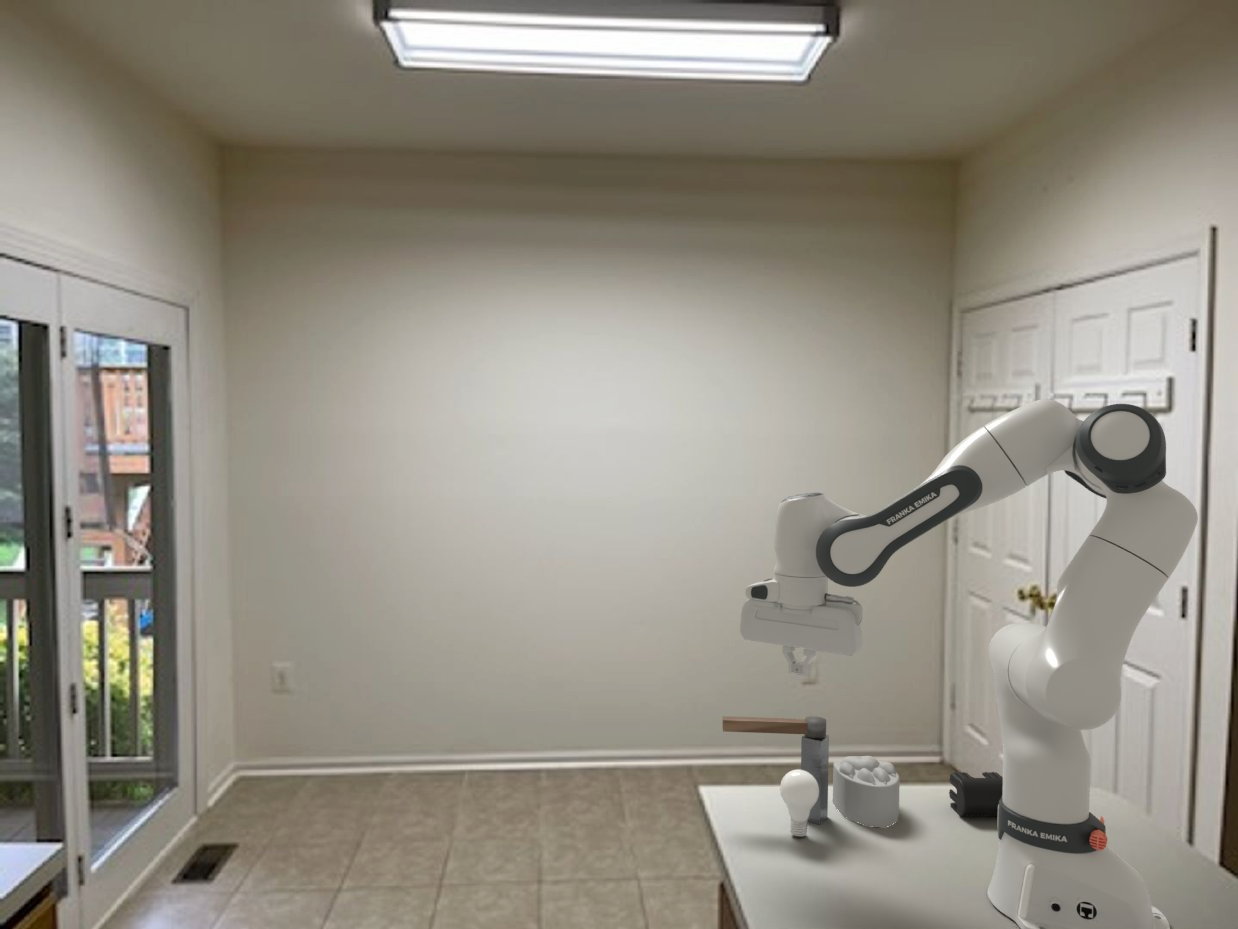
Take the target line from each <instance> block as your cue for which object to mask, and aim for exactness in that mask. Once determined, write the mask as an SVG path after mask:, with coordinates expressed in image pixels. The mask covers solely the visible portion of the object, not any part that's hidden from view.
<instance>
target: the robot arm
mask: <svg viewBox="0 0 1238 929" xmlns="http://www.w3.org/2000/svg"><path fill="white" fill-rule="evenodd" d="M1166 441H1167V440H1166V435H1165V432H1164V429H1163V427H1162V425H1161V423H1160V422H1159V421H1158V419H1157V418H1156V417H1155V416H1154V415H1153V414H1152V413H1151V412H1149V411H1148V410H1146V409H1144V408H1142V407H1140V406H1138V405H1134V404H1130V403H1114V404H1110V405H1105V406H1102V407H1100V408H1098V409H1096V410H1094V411H1093V412H1092V413H1090V414H1089V415H1088V416H1087V417H1086V418H1085V419H1084V420H1081V419H1079V418H1078V417H1076V416H1075V413H1073V412H1072V411H1071V410H1070V409H1069V408H1068V407H1067V406H1065V405H1064V404H1062V403H1061V402H1058V401H1056V400H1053V399H1048V398H1041V399H1038V400H1035V401H1032V402H1029V403H1027V404H1024V405H1022V406H1020V407H1018V408H1015V409H1012V410H1010V411H1009V412H1007V413H1004V414H1001V415H1000V416H998V417H997V418H995V419H993V420H991V421H990V422H988V423H985V425H983V426H981V427H980V428H978V429H977V430H975V431H973V432H972V433H971V434H969V435H968V436H967V437H965V438H964V439H963V440H961V441H960V442H959V443H958V444H957V445H956V446H954V447H953V448H952V449H951V450H950V451H949V452H948V453H947V454H946V455H945V456H944V457H943V458H942V460H941V462H940V463H939V464H938V465H937V467H935V470H933V472H932V473H931V474H930V475H929V476H928V477H927V478H926V479H925V480H924V481H923V482H921V483H920V484H919V485H918V486H916V487H915V488H913V489H912V490H910V491H909V492H906V493H905V494H904V495H901V497H899V498H897V499H895V500H894V501H892V502H891V503H889V504H888V505H886V506H884V507H883V508H881V509H880V510H877V511H876V512H874V513H872V514H870V515H865V514H862V513H859V512H856V511H853V510H850V509H848V508H846V507H844V506H841V505H840V504H839V503H836V502H834V501H833V500H831V499H830V498H829V497H828V496H826V494H824V493H821V492H807V493H800V494H795V495H791V496H788V497H785V499H783V500H782V501H781V502H780V503H779V505H778V507H777V510H776V515H775V521H774V533H773V534H774V537H773V541H774V542H773V547H774V548H773V549H774V552H775V558H776V560H775V565H774V567H773V578H767V579H765V580H762V581H758V582H755V583H752V584H749V585H747V586H746V587H745V590H744V591H745V592H744V593H745V594H744V595H745V597H746V600H745V601H744V603H743V605H742V608H741V614H740V624H739V626H740V627H739V628H740V630H739V632H740V635H741V636H742V638H743V639H744V640H746V641H750V642H757V643H764V644H770V645H775V646H776V645H777V646H782V655H784V658H785V660H786V662H787V663H788V673H789V674H794V675H799V676H804V677H806V676H809V674H810V664H811V663H812V661H813V660H814V658H815V656H816V655H817V652H822V653H828V654H835V655H842V656H846V657H853V656H855V655H858V653H859V652H860V651H861V650H862V649H863V635H862V634H863V632H862V624H861V623H862V622H863V606H862V605H861V603H860V601H858V600H856V599H855V598H854V597H852V596H848V595H846V596H842V595H838V594H831V593H829V580H830V581H831V582H833V583H835V584H837V585H840V586H843V587H847V588H849V587H850V588H855V587H856V588H857V587H861V586H864V585H866V584H868V583H870V582H871V581H873V580H874V579H876V577H878V575H879V574H881V572H882V570H883V569H884V567H885V566H886V564H887V563H888V562H889V560H890V558H891V557H892V556H893V555H894V554H895V553H896V552H898V550H901V548H903V547H905V546H907V545H908V544H909V543H912V542H913V541H915V540H916V539H917V538H919V537H921V536H923V535H924V534H926V533H928V532H929V531H931V530H933V529H934V528H936V527H937V526H939V525H941V524H942V523H944V522H945V521H946V522H947V521H948V520H950V519H952V518H955V517H957V516H959V515H962V514H965V513H968V512H971V511H974V510H977V509H980V508H982V507H985V506H989V505H991V504H994V503H996V502H997V503H998V502H999V501H1002V500H1004V499H1006V498H1008V497H1011V496H1012V495H1015V494H1016V493H1018V492H1020V491H1022V490H1023V489H1025V488H1026V487H1029V486H1030V485H1031V484H1033V483H1035V482H1037V481H1038V480H1040V479H1042V478H1044V477H1046V476H1048V475H1050V474H1052V473H1056V472H1059V471H1064V473H1065V474H1066V475H1067V476H1068V477H1069V478H1071V479H1072V480H1074V481H1075V482H1077V483H1078V484H1080V485H1082V486H1083V487H1084V488H1085V489H1087V490H1088V491H1089V492H1091V493H1093V494H1095V495H1096V496H1098V497H1100V498H1103V499H1106V505H1105V509H1104V511H1103V513H1102V515H1101V516H1100V518H1099V520H1098V522H1097V523H1096V525H1095V526H1094V527H1093V529H1092V530H1091V531H1090V533H1089V534H1088V536H1087V538H1086V539H1085V540H1084V541H1083V543H1082V544H1081V546H1080V547H1079V549H1078V550H1077V552H1076V553H1075V555H1074V556H1073V558H1072V559H1071V561H1070V562H1069V564H1068V565H1067V566H1066V568H1065V570H1064V571H1063V572H1062V574H1061V575H1060V577H1059V578H1058V581H1057V585H1056V593H1057V594H1056V599H1055V603H1054V606H1053V609H1052V611H1051V615H1050V617H1049V620H1048V622H1047V624H1046V626H1045V625H1043V624H1039V623H1033V622H1032V623H1031V622H1014V623H1010V624H1007V625H1005V626H1003V627H1001V628H999V629H998V630H997V631H996V632H995V633H994V635H993V636H992V637H991V639H990V642H989V645H988V652H987V653H988V662H989V664H990V667H991V670H992V673H993V679H994V680H993V681H994V688H995V689H994V690H995V697H996V704H997V705H996V706H997V712H998V718H999V723H1000V732H1001V740H1002V777H1003V789H1002V796H1001V799H1000V800H999V805H998V815H997V816H996V818H997V820H996V822H997V823H996V824H997V826H996V827H997V829H996V830H997V833H998V834H997V836H998V839H999V843H998V848H997V850H998V851H997V855H996V861H995V866H994V869H993V873H992V877H991V879H990V883H989V885H988V888H987V894H986V895H987V897H988V899H989V901H990V902H991V904H992V905H993V906H994V907H995V908H996V909H997V910H998V911H1000V912H1001V913H1002V914H1004V915H1005V916H1006V917H1008V918H1010V919H1011V920H1013V921H1014V922H1015V923H1016V925H1017V926H1018V927H1019V928H1020V929H1171V925H1170V923H1169V921H1168V919H1167V917H1166V916H1165V915H1164V913H1163V912H1162V911H1161V910H1159V909H1158V908H1157V907H1155V906H1153V904H1152V900H1151V896H1150V893H1149V892H1150V891H1149V889H1148V886H1147V884H1146V881H1145V879H1144V878H1143V876H1142V875H1141V874H1140V872H1139V871H1137V870H1136V869H1135V868H1134V867H1132V866H1131V865H1130V864H1129V863H1128V862H1126V860H1124V859H1123V858H1122V857H1121V856H1119V855H1118V854H1117V853H1116V851H1114V850H1113V849H1112V848H1111V847H1109V846H1108V844H1107V843H1108V837H1107V832H1106V830H1107V829H1106V825H1105V819H1104V817H1103V816H1100V819H1099V818H1098V817H1096V815H1094V814H1093V813H1092V812H1090V801H1091V800H1090V796H1091V795H1090V792H1091V790H1090V789H1091V759H1090V753H1089V751H1088V749H1087V746H1086V743H1085V741H1084V738H1083V734H1082V731H1084V730H1085V731H1087V730H1093V729H1096V728H1099V727H1102V726H1104V725H1105V724H1106V723H1108V722H1109V721H1110V720H1111V719H1112V718H1114V716H1115V715H1116V713H1117V712H1118V710H1119V707H1120V705H1121V699H1122V687H1121V682H1120V681H1121V680H1120V679H1121V672H1122V668H1123V666H1124V665H1123V664H1124V661H1125V658H1126V655H1127V653H1128V649H1129V647H1130V644H1131V641H1132V638H1133V636H1134V634H1135V632H1136V630H1137V627H1138V625H1139V623H1141V621H1142V619H1143V617H1144V616H1145V614H1146V613H1147V612H1148V610H1149V608H1150V607H1151V605H1152V603H1153V602H1154V601H1155V599H1156V598H1157V596H1158V595H1159V593H1160V592H1161V591H1162V589H1163V587H1164V586H1165V584H1166V583H1167V581H1168V580H1169V579H1170V577H1171V575H1172V574H1173V573H1174V571H1175V570H1176V568H1177V566H1178V565H1179V563H1180V561H1181V559H1182V558H1183V556H1184V553H1185V552H1186V550H1187V548H1188V546H1189V544H1190V541H1191V539H1192V537H1193V535H1194V532H1195V529H1196V527H1197V524H1198V519H1199V518H1198V512H1197V508H1196V507H1195V505H1194V504H1193V502H1191V500H1190V499H1189V498H1188V497H1187V496H1186V495H1184V494H1183V493H1181V492H1180V491H1178V490H1177V489H1176V488H1173V487H1171V486H1169V485H1168V484H1167V483H1165V481H1163V480H1164V479H1165V477H1166V475H1167V442H1166ZM796 648H797V649H802V650H803V656H805V659H804V660H803V662H801V661H797V659H796V656H795V655H794V651H795V650H796Z"/></svg>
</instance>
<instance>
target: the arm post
mask: <svg viewBox="0 0 1238 929" xmlns="http://www.w3.org/2000/svg"><path fill="white" fill-rule="evenodd" d="M800 747H801V748H800V750H801V754H800V756H801V757H800V770H804V771H807V772H809V773H810V774H811V775H813V777H814V778H815V779H816V781H817V783H818V786H819V797H818V800H817V802H816V803H815V805H814V806H813V807H812V809H811V811H810V814H809V818H808V819H807V822H810V823H813V822H814V824H816V823H817V825H821V824H822V823H823V822H824V821H825V820H826V819H827V818H828V813H829V812H828V811H829V810H828V808H829V803H828V802H829V801H828V800H829V764H830V762H829V759H830V758H829V756H830V755H829V752H830V735H828V734H826V737H824V738H812V737H808V736H806V735H805V734H803V735H802V736H801V746H800ZM826 817H827V818H826ZM821 822H822V823H821Z"/></svg>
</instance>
